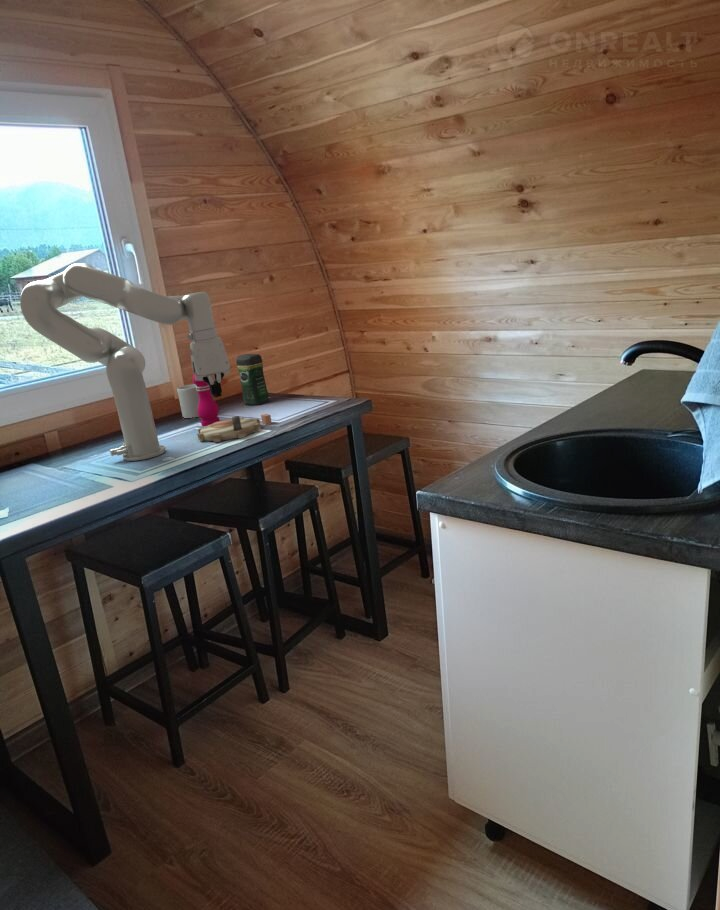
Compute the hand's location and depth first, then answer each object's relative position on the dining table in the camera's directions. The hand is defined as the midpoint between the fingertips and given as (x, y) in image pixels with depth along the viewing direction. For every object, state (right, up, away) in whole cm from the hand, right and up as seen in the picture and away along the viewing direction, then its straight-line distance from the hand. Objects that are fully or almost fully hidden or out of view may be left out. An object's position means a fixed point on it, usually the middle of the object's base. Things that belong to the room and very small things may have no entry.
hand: (217, 396), depth 215 cm
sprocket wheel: (+2, -11, +13) cm, 17 cm away
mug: (-16, -4, +46) cm, 48 cm away
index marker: (+13, -7, +19) cm, 24 cm away
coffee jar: (+4, +2, +54) cm, 54 cm away
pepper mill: (-8, -7, +30) cm, 32 cm away
